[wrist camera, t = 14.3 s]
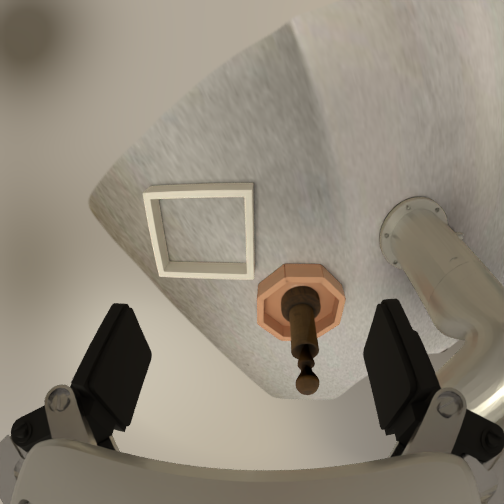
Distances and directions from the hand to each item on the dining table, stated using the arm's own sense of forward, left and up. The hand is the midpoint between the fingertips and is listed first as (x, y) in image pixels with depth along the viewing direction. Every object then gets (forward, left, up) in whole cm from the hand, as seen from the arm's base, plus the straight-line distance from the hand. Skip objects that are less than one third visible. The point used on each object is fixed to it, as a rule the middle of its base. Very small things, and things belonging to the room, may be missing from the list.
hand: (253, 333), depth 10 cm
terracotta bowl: (-6, +24, -31) cm, 39 cm away
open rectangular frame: (+9, +11, -31) cm, 34 cm away
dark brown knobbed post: (-6, +24, -30) cm, 39 cm away
